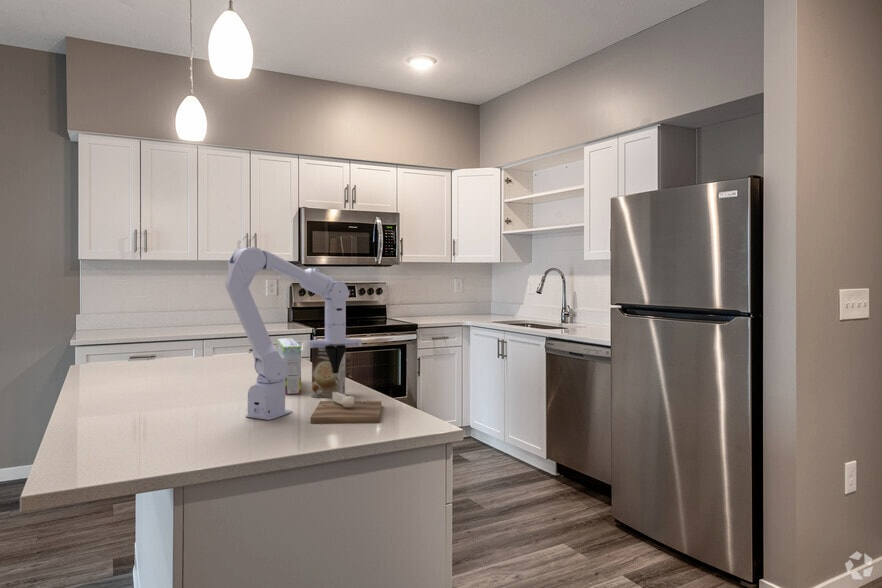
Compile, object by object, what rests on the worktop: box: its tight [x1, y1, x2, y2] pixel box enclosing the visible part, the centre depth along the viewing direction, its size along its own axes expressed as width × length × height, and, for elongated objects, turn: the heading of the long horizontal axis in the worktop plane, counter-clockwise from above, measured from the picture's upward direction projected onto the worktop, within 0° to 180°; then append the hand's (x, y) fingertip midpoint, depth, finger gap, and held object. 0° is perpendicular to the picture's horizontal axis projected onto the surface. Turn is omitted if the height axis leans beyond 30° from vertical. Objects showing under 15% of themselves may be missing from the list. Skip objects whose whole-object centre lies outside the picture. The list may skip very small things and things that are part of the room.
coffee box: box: [310, 344, 347, 399], centre depth 178 cm, size 9×6×16 cm
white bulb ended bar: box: [331, 392, 355, 407], centre depth 158 cm, size 10×3×2 cm, turn 37°
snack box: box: [277, 337, 302, 396], centre depth 189 cm, size 21×6×15 cm, turn 21°
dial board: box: [310, 400, 383, 424], centre depth 155 cm, size 18×17×2 cm
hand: (335, 372), depth 164 cm, fingers closed
